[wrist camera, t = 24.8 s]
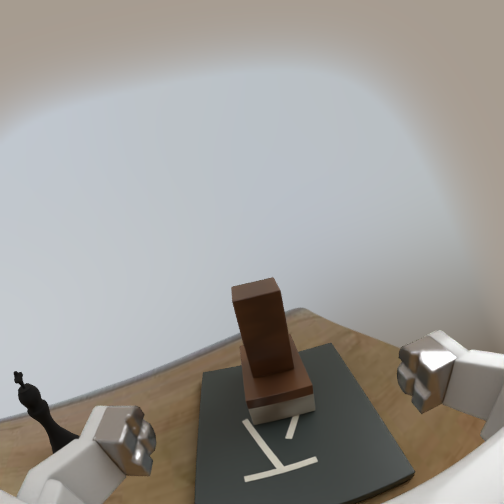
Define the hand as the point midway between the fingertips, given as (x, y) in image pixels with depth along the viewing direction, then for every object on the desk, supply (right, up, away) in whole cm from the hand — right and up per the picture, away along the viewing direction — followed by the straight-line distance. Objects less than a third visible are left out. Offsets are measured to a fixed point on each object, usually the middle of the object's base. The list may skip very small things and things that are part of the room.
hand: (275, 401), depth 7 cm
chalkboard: (+2, -10, +12) cm, 16 cm away
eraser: (+2, -8, +16) cm, 18 cm away
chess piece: (-17, -15, +9) cm, 25 cm away
